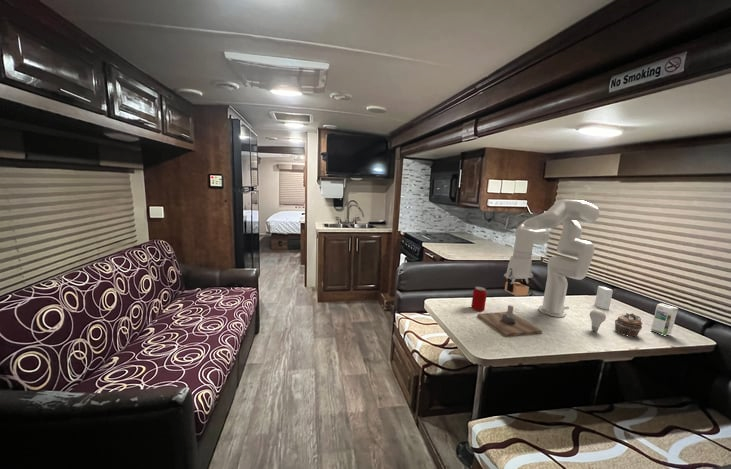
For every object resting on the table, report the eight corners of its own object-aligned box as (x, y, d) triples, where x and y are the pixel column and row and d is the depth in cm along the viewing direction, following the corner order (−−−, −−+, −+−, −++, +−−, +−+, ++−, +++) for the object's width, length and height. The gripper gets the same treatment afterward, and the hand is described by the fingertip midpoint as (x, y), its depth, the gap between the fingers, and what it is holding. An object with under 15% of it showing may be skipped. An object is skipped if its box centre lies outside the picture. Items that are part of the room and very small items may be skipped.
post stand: (509, 314, 151) (512, 297, 149) (541, 333, 132) (545, 314, 130) (477, 316, 146) (479, 299, 144) (505, 336, 127) (508, 317, 125)
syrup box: (649, 331, 142) (656, 304, 139) (656, 329, 144) (663, 302, 141) (664, 337, 136) (672, 308, 134) (671, 335, 139) (678, 307, 136)
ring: (516, 289, 139) (517, 282, 139) (527, 295, 133) (529, 287, 132) (504, 290, 137) (505, 282, 137) (515, 295, 131) (517, 287, 130)
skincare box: (609, 309, 166) (613, 290, 164) (602, 309, 166) (606, 289, 164) (600, 305, 172) (605, 286, 170) (593, 304, 172) (597, 286, 170)
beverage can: (482, 307, 158) (485, 286, 156) (486, 312, 151) (489, 291, 149) (469, 306, 158) (472, 285, 156) (473, 311, 152) (475, 289, 150)
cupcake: (623, 327, 143) (627, 309, 142) (644, 338, 134) (649, 318, 132) (607, 328, 142) (611, 309, 140) (628, 338, 132) (633, 318, 131)
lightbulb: (598, 335, 134) (603, 313, 132) (583, 329, 139) (588, 308, 137) (604, 333, 137) (609, 311, 135) (590, 327, 142) (594, 306, 140)
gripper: (530, 252, 138) (524, 287, 141) (500, 252, 133) (495, 288, 136) (543, 256, 131) (537, 293, 134) (513, 256, 126) (507, 294, 129)
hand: (516, 290), depth 135 cm, fingers closed on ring, 7 cm apart
